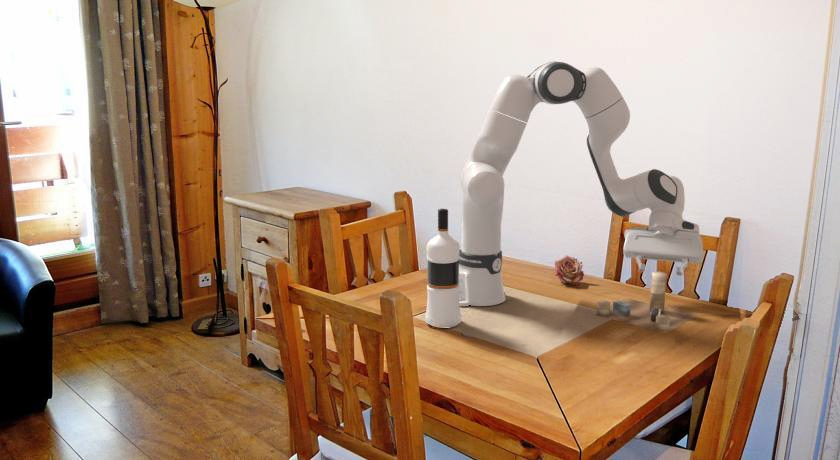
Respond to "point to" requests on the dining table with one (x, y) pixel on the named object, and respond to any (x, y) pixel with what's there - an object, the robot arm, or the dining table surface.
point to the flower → (569, 270)
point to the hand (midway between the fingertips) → (660, 272)
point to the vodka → (443, 277)
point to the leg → (657, 294)
